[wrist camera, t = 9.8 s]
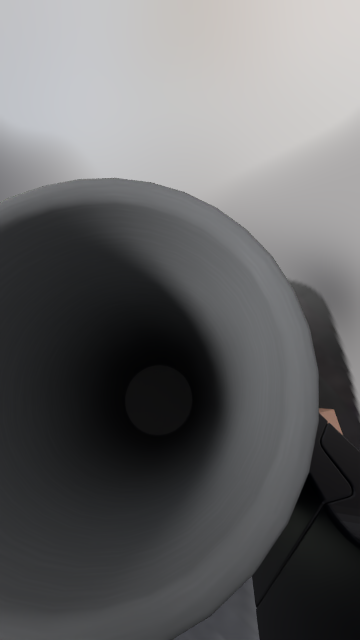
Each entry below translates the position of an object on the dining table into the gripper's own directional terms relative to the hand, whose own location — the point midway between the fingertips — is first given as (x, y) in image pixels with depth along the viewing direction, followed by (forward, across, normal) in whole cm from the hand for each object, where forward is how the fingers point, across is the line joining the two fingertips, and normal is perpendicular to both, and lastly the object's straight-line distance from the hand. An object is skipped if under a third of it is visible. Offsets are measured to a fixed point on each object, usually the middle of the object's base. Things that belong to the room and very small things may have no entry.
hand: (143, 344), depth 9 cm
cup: (+6, 0, +9) cm, 11 cm away
